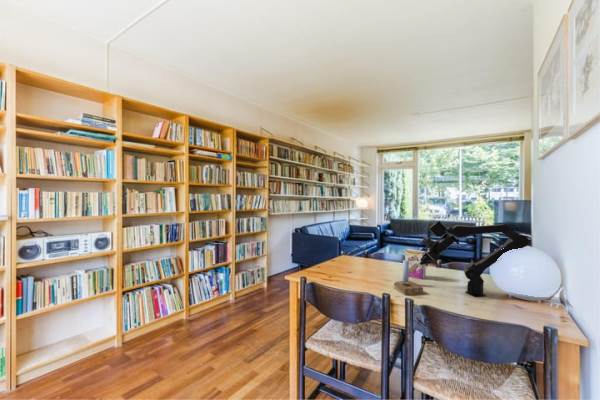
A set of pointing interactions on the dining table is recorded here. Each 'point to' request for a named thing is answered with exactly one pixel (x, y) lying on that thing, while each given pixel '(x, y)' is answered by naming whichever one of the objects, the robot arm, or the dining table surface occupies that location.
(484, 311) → the dining table surface
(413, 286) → the hole block
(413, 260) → the candy bar box
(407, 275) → the peg
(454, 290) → the dining table surface
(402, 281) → the mat
